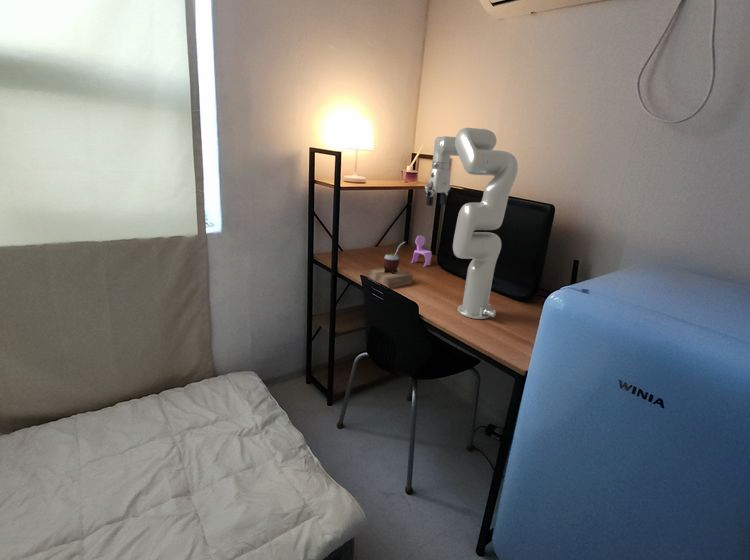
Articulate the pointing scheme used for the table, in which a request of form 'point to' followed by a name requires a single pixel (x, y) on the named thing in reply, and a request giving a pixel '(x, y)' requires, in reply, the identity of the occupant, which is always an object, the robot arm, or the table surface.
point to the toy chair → (421, 251)
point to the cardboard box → (391, 277)
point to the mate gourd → (391, 262)
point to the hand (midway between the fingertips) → (436, 204)
